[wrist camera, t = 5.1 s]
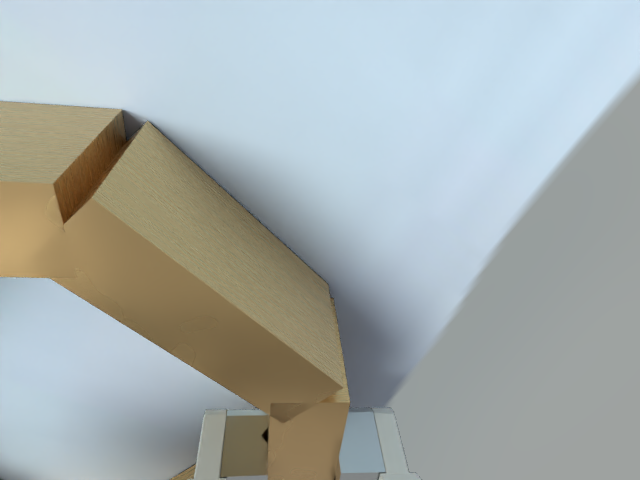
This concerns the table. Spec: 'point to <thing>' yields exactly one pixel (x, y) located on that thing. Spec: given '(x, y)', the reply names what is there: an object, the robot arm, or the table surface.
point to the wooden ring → (175, 269)
